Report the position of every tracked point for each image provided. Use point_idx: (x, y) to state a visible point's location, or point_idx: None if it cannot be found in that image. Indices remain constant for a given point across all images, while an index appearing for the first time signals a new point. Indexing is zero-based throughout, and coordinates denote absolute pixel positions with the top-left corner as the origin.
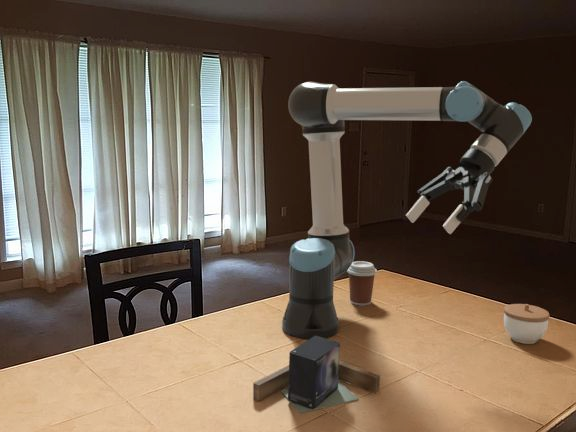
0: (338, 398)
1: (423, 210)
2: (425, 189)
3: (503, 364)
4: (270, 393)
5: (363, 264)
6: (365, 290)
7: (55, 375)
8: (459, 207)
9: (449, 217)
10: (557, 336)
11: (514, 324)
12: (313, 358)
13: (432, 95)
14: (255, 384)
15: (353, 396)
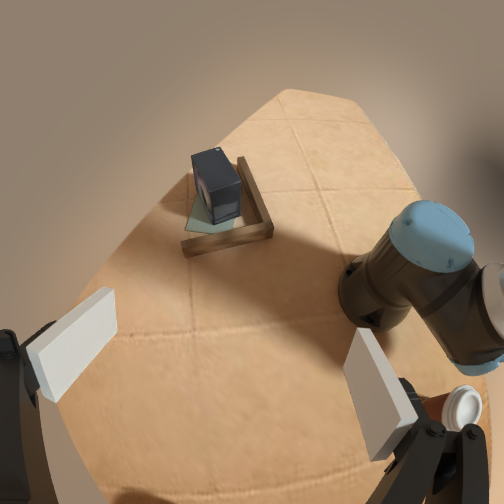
0: (197, 215)
1: (359, 419)
2: (458, 462)
3: (144, 440)
4: (241, 177)
5: (469, 414)
6: (429, 411)
7: (338, 109)
8: (41, 336)
9: (88, 308)
10: None
11: None
12: (194, 155)
13: None
14: (241, 157)
15: (191, 228)
